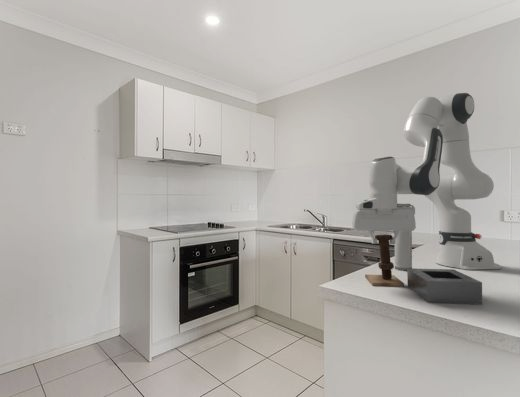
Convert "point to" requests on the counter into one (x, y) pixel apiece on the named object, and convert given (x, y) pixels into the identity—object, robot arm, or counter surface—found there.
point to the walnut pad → (383, 281)
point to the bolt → (385, 256)
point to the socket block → (444, 286)
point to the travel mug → (403, 250)
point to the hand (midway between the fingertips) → (383, 243)
